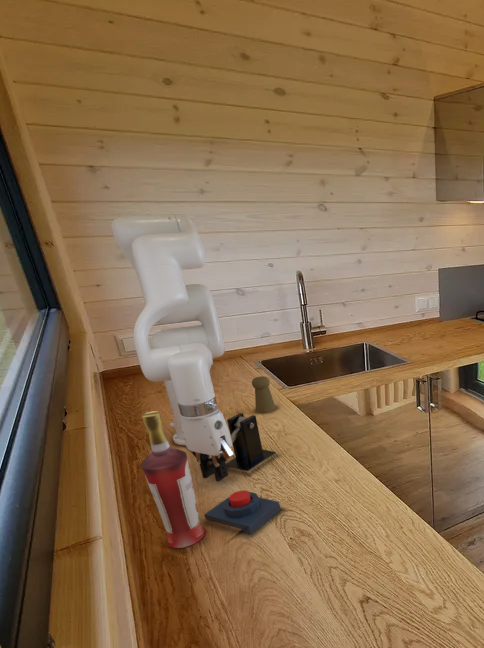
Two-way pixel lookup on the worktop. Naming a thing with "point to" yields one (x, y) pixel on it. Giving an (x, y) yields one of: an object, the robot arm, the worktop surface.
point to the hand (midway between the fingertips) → (215, 476)
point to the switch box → (244, 513)
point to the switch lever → (233, 437)
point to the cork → (263, 395)
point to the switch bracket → (247, 444)
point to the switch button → (240, 498)
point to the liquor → (171, 486)
